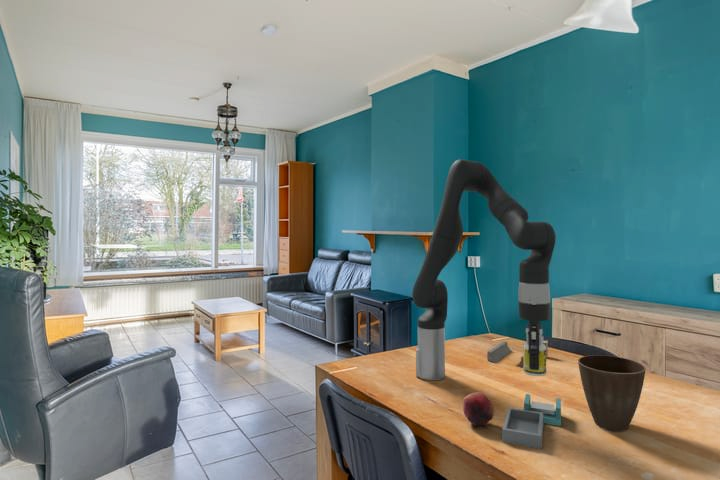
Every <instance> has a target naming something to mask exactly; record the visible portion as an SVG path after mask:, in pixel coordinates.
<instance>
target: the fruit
mask: <svg viewBox="0 0 720 480" xmlns="http://www.w3.org/2000/svg"><path fill="white" fill-rule="evenodd" d="M462 410H463V414H464V417H465V418H466V419H467V420H468V422H469V423H471V424H473V425H474V426H476V427H478V426H479V427H480V426H483V425H486V424H487V423H489V422H491V421H492V419H493V418H494V416H495V408H494V405H493V403H492V401H491V400H490V398H489V397H488V396H487V395H486V394H485V393H483V392H479V391H478V392H477V391H476V392H472V393H469V394H468V395H466V396H465V397H464V398H463V401H462Z"/></svg>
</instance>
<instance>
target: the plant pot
mask: <svg viewBox="0 0 720 480" xmlns="http://www.w3.org/2000/svg"><path fill="white" fill-rule="evenodd" d="M577 363H578V370H579V375H580V376H579V377H580V380H581V381H580V382H581V385H582V388H583V392H584V396H585V398H586V402H587V405H588V408H589V411H590V414H591V416H592V419H593V422H594V423H595V425H596V426H598V427H599V428H600V429H604V430H607V431H611V432H625V431H627V430H628V429H629V427H630V424H631V423H632V421H633V418H634V417H635V413H636V411H637V408H638V405H639V402H640V398H641V395H642V391H643V386H644V382H645V376H646V366H645V365H644V364H642V363H640V362H639V361H636V360H632V359H629V358H625V357H620V356H616V355H615V356H614V355H606V354H605V355H604V354H603V355H602V354H601V355H600V354H597V355H595V354H594V355H593V354H591V355H584V356H581V357H579V358H578V359H577Z"/></svg>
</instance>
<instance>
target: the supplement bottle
mask: <svg viewBox="0 0 720 480" xmlns="http://www.w3.org/2000/svg"><path fill="white" fill-rule="evenodd" d="M543 341H544V335H543V334H542V335H541V346H540V347H539V351H540V354H539V370H531V369H530V368H529V353H528V350H529V345H528V344H527V342H525V343H523V344H524V345H523V355H524V368H523V373H525V374H526V375H528V376H531V377H544V376H546V375H547V357H546V346H545V345H544V344H542V342H543ZM531 349H537V346H531Z"/></svg>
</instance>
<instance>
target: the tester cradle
mask: <svg viewBox="0 0 720 480" xmlns="http://www.w3.org/2000/svg"><path fill="white" fill-rule="evenodd" d="M523 410H528V411H531V394H530V393H526V394H525V396H524V401H523ZM543 424H547V425H552V426H558V427H559V426H560V427H561V426H562V399H561V398H557V397H556V398H555V408H554V415H552V414H546V413H543Z"/></svg>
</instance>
